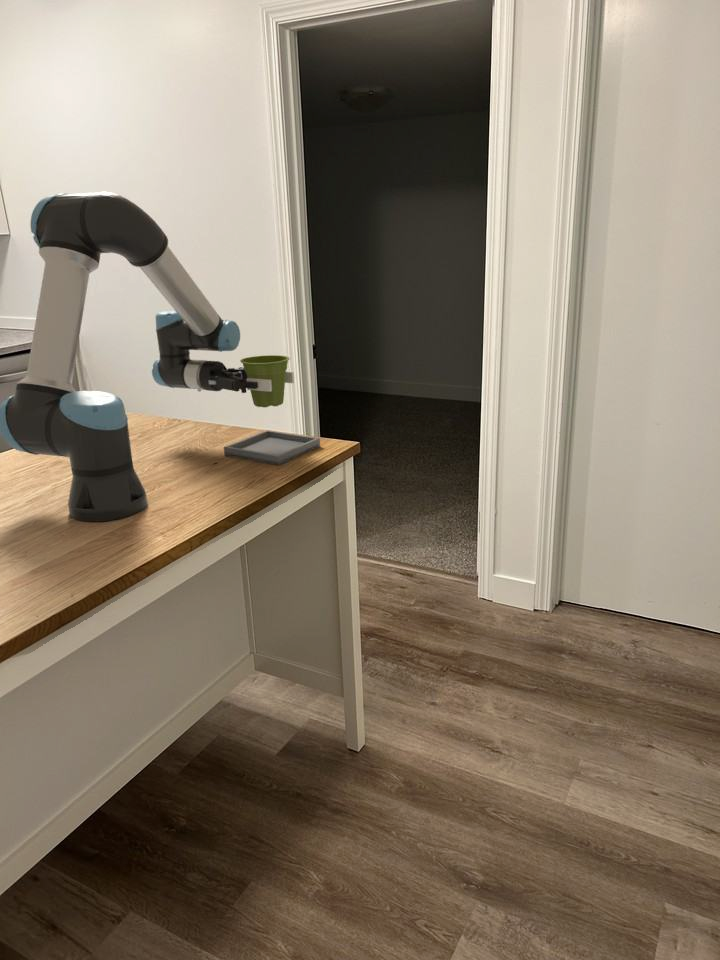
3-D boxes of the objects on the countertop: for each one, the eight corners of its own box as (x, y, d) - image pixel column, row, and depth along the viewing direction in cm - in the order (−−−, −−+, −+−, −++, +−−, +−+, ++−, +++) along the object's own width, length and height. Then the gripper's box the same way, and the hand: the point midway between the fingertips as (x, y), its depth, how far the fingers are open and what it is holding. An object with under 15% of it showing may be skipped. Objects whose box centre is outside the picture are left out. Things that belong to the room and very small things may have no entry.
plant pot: (296, 398, 182) (293, 354, 178) (287, 410, 171) (284, 363, 167) (250, 399, 183) (246, 354, 180) (238, 410, 172) (234, 363, 168)
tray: (320, 446, 183) (319, 438, 183) (279, 465, 170) (278, 456, 169) (267, 438, 192) (267, 430, 191) (224, 455, 178) (223, 447, 178)
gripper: (233, 381, 193) (306, 387, 184) (180, 399, 175) (257, 407, 165) (231, 353, 191) (304, 358, 181) (176, 368, 172) (255, 374, 163)
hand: (282, 381), depth 173 cm, fingers closed on plant pot, 9 cm apart
